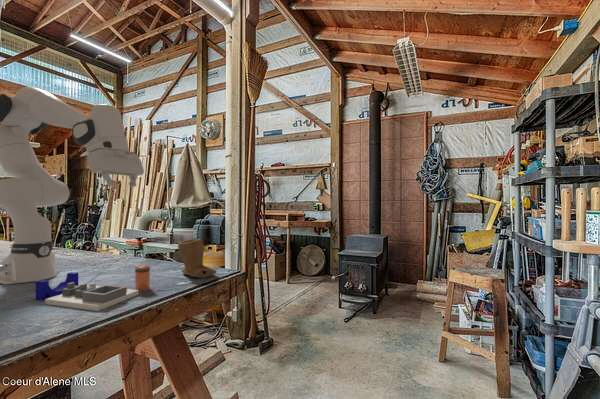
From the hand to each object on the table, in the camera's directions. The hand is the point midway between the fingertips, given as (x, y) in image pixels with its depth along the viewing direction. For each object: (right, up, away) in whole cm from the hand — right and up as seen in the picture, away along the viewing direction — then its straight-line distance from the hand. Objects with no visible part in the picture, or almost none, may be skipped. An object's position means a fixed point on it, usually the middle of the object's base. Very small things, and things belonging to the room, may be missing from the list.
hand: (122, 186), depth 109 cm
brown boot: (+20, -36, +18) cm, 45 cm away
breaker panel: (-2, -36, -12) cm, 38 cm away
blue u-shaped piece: (-18, -36, -7) cm, 41 cm away
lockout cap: (+8, -36, -2) cm, 37 cm away
